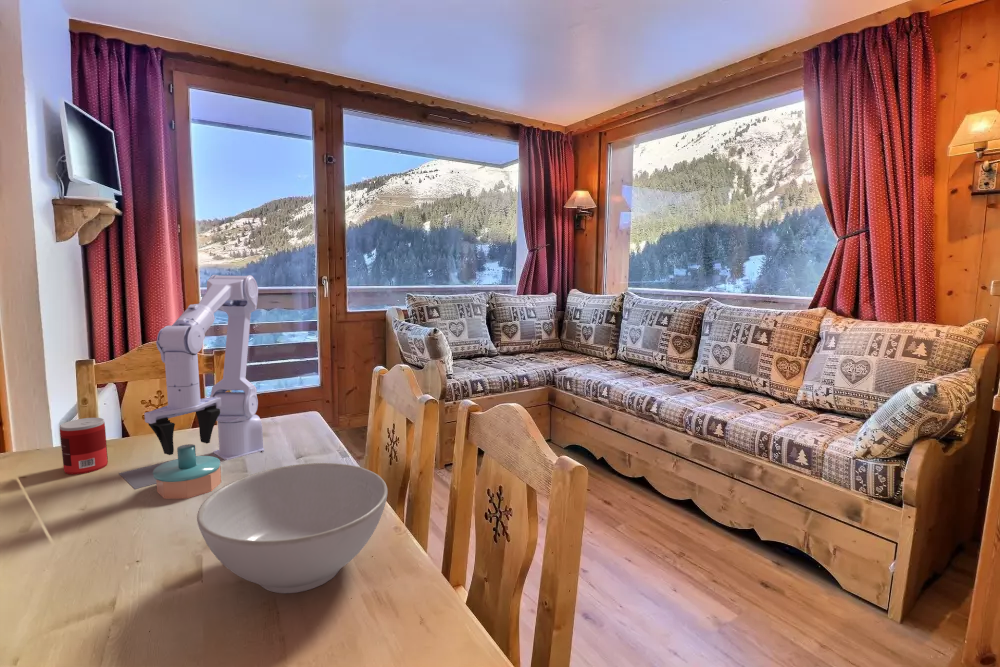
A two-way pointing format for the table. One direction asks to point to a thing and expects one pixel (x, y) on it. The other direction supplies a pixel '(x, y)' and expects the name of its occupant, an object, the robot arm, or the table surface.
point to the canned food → (83, 445)
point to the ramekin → (189, 486)
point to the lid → (186, 466)
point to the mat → (141, 476)
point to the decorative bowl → (293, 523)
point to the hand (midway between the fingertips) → (187, 447)
